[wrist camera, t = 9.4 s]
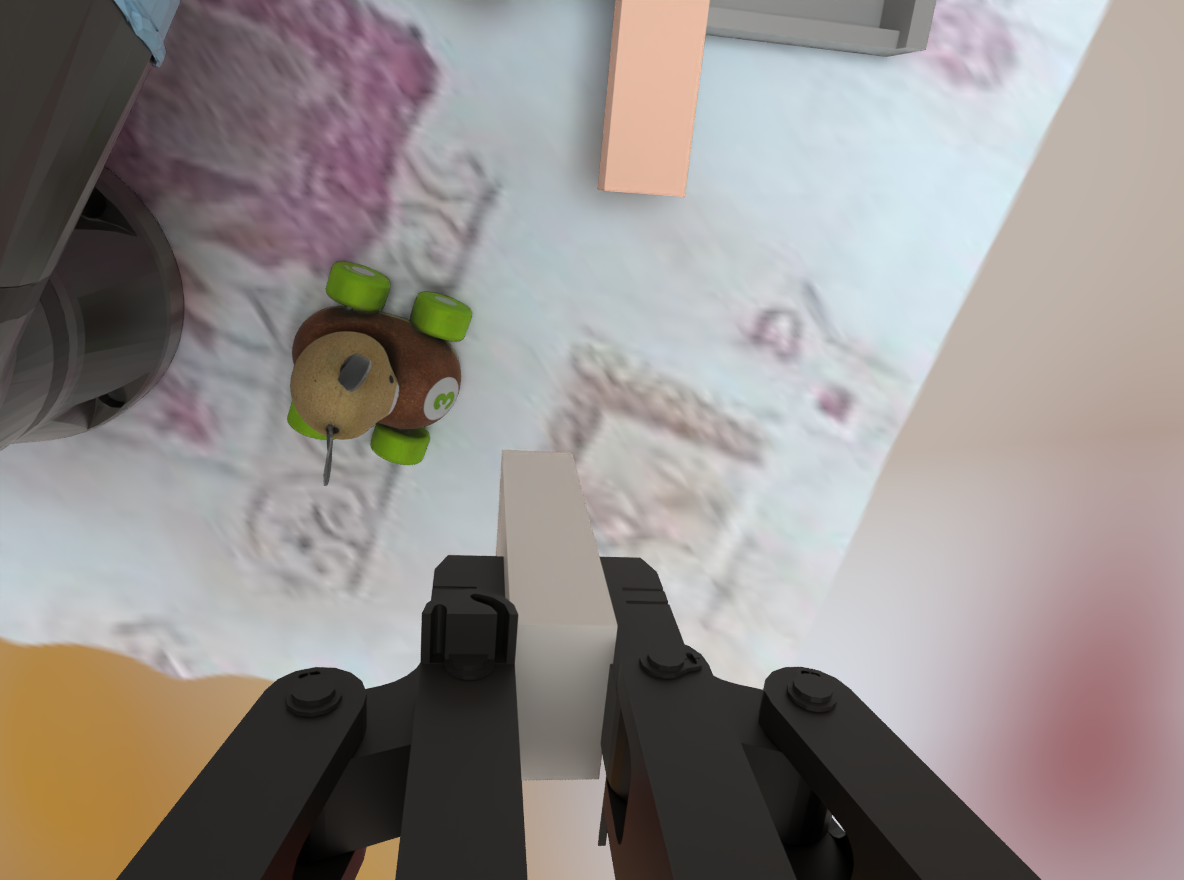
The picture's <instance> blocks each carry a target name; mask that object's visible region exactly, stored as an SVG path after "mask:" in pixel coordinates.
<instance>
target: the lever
mask: <svg viewBox="0 0 1184 880" xmlns="http://www.w3.org/2000/svg"><path fill="white" fill-rule="evenodd" d="M709 3H710V0H615V9H614V19H613V30H612V41H611V52H610V63H609V74H608V85H607V95H606V106H605V117H604V128H603V139H602V150H601V160H600V171H599V182H598V189H599V190H603V191H613V192H626V193H640V194H653V195H666V196H680V197H685V190H686V183H687V175H688V167H689V159H690V151H691V143H692V136H693V128H694V120H695V112H696V104H697V97H698V89H699V81H700V73H701V65H702V57H703V50H704V42H705V34H706V26H707V18H708V11H709Z"/></svg>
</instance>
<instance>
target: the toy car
mask: <svg viewBox="0 0 1184 880" xmlns="http://www.w3.org/2000/svg"><path fill="white" fill-rule="evenodd" d="M389 289H390V281H389V280H388V279H387V278H386V277H385V276H384V275H382V274H381V273H379V272H377V271H375V270H373V269H370V268H368V267H365V266H362V265H358V264H354V263H350V262H337V263H335V264H334V265H333V266H332V269H331V272H330V276H329V279H328V282H327V286H326V293H327V295H328V296H329V297H330V298H332V299H333V300H335V301H336V302H338V303H340V304H343V305H345V306H347V307H343V306H337V307H329V308H325V309H323V310H320V311H318V312H316V313H315V314H313V315H312V316H311V317H309V318H308V319H307V320H306V321H305V322H304V323H303V324H302V326H301V327H300V328H299V330H298V332H297V334H296V336H295V339H294V343H293V349H292V357H293V363H294V368H293V372H292V376H291V384H290V388H291V395H292V403H291V406H290V410H289V413H288V416H287V420H288V423H289V425H290V426H291V427H292V428H293V429H294V430H296V431H297V432H299V433H301V434H303V435H305V436H308V437H311V438H315V439H320V440H327V450H328V453H327V457H326V463H325V469H324V475H323V476H324V486H327V485H328V482H329V478H330V471H331V461H332V445H333V440H334V439H343V440H344V439H352V438H356V437H358V436H360V435H362V434H364V433H365V432H366V431H368V430H369V429H370V428H371V427H372V426H373V425H374V424H376V426H375V429H374V432H373V435H372V438H371V443H370V445H371V448H372V450H373V451H374V452H375V453H376V454H377V455H378V456H380V457H381V458H383V459H385V460H387V461H390V462H393V463H396V464H401V465H415V464H417V463H419V462H421V461H422V460H423V458H424V455H425V452H426V449H427V446H428V443H429V440H430V437H429V433H428V431H427V430H426V429H425V428H423V427H426V426H428V425H431V424H433V423H434V422H436V421H438V420H439V419H441V418H442V417H443V416H444V415H445V414H446V413H447V412H448V411H449V410H450V409H451V407H452V406H453V404H454V403H455V401H456V399H457V396H458V394H459V389H460V382H461V370H460V364H459V360H458V358H457V355H456V353H455V351H454V350H453V348H452V347H451V345H450V344H449V343H448V341H453V342H457V341H461V340H462V339H463V338H464V337H465V335H466V332H467V329H468V326H469V323H470V321H471V318H472V312H471V310H470V308H468V307H467V306H466V305H464V304H463V303H461V302H459V301H457V300H455V299H453V298H451V297H448V296H445V295H441V294H437V293H433V292H421V293H419V294H418V296H417V298H416V300H415V303H414V306H413V309H412V313H411V316H410V320H411V321H409V320H406V319H403V318H400V317H397V316H393V315H390V314H386V313H382V312H380V310H381V309H382V308H383V307H384V305H385V302H386V299H387V296H388V293H389Z"/></svg>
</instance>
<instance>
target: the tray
mask: <svg viewBox="0 0 1184 880" xmlns="http://www.w3.org/2000/svg"><path fill="white" fill-rule="evenodd" d="M935 4H936V0H710V3H709V11H708V18H707V26H706V34H705V35H713V36H721V37H730V38H738V39H746V40H754V41H763V42H771V43H779V44H787V45H796V46H804V47H812V48H821V49H829V50H837V51H845V52H854V53H862V54H870V55H878V56H887V57H888V56H893V55H899V54H905V53H911V52H916V51H922V50H926V46H927V42H928V37H929V32H930V28H931V23H932V18H933V14H934V9H935Z"/></svg>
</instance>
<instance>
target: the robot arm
mask: <svg viewBox="0 0 1184 880" xmlns="http://www.w3.org/2000/svg"><path fill="white" fill-rule="evenodd" d="M180 1H181V0H0V451H1V450H2V449H4V448H5V447H7V446H8V445H10V444H15V443H24V442H34V441H44V440H52V439H59V438H64V437H69V436H73V435H77V434H80V433H83V432H86V431H89V430H91V429H94V428H96V427H98V426H101V425H103V424H105V423H107V422H109V421H110V420H112V419H114V418H116V417H117V416H119V415H120V414H122V413H123V412H124V411H126V410H127V409H128V408H129V407H131V406H132V405H133V404H135V403H136V402H137V401H138V400H140V399H141V398H142V397H144V396H145V395H146V394H147V393H148V392H149V391H150V390H151V389H152V388H153V387H154V386H155V385H156V384H157V382H158V381H159V380H160V378H161V377H162V376H163V374H164V373H165V371H166V370H167V368H168V366H169V365H170V363H171V361H172V359H173V357H174V354H175V352H176V349H177V346H178V343H179V339H180V335H181V330H182V324H183V310H184V305H183V291H182V284H181V279H180V274H179V271H178V267H177V264H176V261H175V258H174V255H173V253H172V250H171V248H170V246H169V243H168V241H167V239H166V237H165V235H164V234H163V232H162V230H161V228H160V227H159V225H158V223H157V222H156V220H155V219H154V217H153V216H152V214H151V213H150V212H149V210H148V209H147V208H146V206H145V205H144V204H143V203H142V201H141V200H140V199H139V198H138V197H137V196H136V195H135V194H134V193H133V191H132V190H131V189H130V188H129V187H128V186H126V185H125V184H124V183H123V182H122V181H121V180H120V179H119V178H118V177H117V176H115V175H114V174H113V173H112V172H111V171H109V170H108V169H107V168H105V167H104V165H105V163H106V161H107V159H108V157H109V155H110V153H111V150H112V148H113V146H114V144H115V142H116V140H117V138H118V136H119V134H120V132H121V129H122V127H123V125H124V123H125V121H126V119H127V117H128V115H129V113H130V111H131V108H132V106H133V104H134V102H135V100H136V98H137V96H138V94H139V92H140V90H141V87H142V85H143V83H144V81H145V79H146V77H147V75H148V73H149V71H150V69H151V66H152V65H153V66H155V67H157V68H159V67H160V66H161V65H162V63H163V61H164V58H165V55H166V50H165V45H164V43H163V42H164V39H165V37H166V34H167V32H168V30H169V27H170V25H171V22H172V20H173V18H174V15H175V13H176V10H177V8H178V6H179V3H180ZM602 755H603V760H604V765H605V770H606V782H605V791H604V798H603V807H602V814H601V822H600V830H599V840H598V846H605V845H606V838H607V833H608V837H609V844H610V850H611V856H612V862H613V867H614V874H615V879H616V880H1041V879H1040V878H1039V877H1038V876H1037V875H1036V874H1035V873H1034V872H1033V871H1032V870H1031V869H1030V868H1029V867H1028V866H1027V865H1026V864H1025V863H1024V862H1023V861H1022V860H1021V859H1020V858H1019V857H1018V856H1017V855H1016V854H1015V853H1014V852H1013V851H1012V850H1011V849H1010V848H1009V847H1008V846H1007V845H1006V844H1005V843H1004V842H1003V841H1002V840H1001V839H1000V838H999V837H998V836H997V835H996V834H995V833H994V832H993V831H992V830H991V829H990V828H989V827H988V826H987V825H986V824H985V823H984V822H983V821H982V820H981V819H980V818H979V817H978V816H977V815H976V814H975V813H974V812H973V811H972V810H971V809H970V808H969V807H968V806H967V805H966V804H965V803H964V802H963V801H962V800H961V799H960V798H959V797H958V796H957V795H956V794H955V793H954V792H953V791H952V790H951V789H950V788H949V787H948V786H947V785H946V784H945V783H944V782H943V781H942V780H941V779H940V778H939V777H938V776H937V775H936V774H935V773H934V772H933V771H932V770H931V769H930V768H929V767H928V766H927V765H926V764H925V763H924V762H923V761H922V760H921V759H920V758H919V757H918V756H917V755H916V754H915V753H914V752H913V751H912V750H911V749H910V748H909V747H908V746H907V745H906V744H905V743H904V742H903V741H902V740H901V739H900V738H899V737H898V736H897V735H896V734H895V733H894V732H893V731H892V730H891V729H890V728H889V727H887V725H886V724H885V723H884V722H883V721H881V719H880V718H879V717H877V715H875V713H873V711H871V709H869V707H868V706H867V705H866V704H865V703H864V702H863V701H861V699H860V698H859V697H858V696H857V695H856V694H855V693H854V692H853V691H852V690H851V689H849V688H848V687H847V686H845V685H844V684H843V683H842V682H840V681H839V680H838V679H836V678H835V677H832V676H830V675H828V674H825V673H823V672H821V671H818V670H815V669H809V668H804V667H785V668H782V669H779V670H776V671H773V672H772V673H771V674H770V675H769V676H768V677H767V678H766V680H765V684H764V689H763V690H761V689H757V688H752V687H748V686H743V685H738V684H734V683H731V682H728V681H724V680H721V679H719V678H717V677H715V676H713V674H712V671H711V669H710V667H709V664H708V663H707V662H706V660H705V659H704V657H703V656H702V655H701V654H700V653H698V652H697V651H695V650H694V649H693V648H691V647H690V646H687V645H685V644H684V642H683V639H682V637H681V634H680V631H679V629H678V626H677V624H676V621H675V618H674V616H673V613H672V611H671V608H670V605H668V600H667V597H666V595H665V592H664V591H663V587H662V584H661V582H660V579H659V577H658V574H657V572H656V571H655V570H654V569H653V568H652V567H650V566H649V565H648V564H647V563H646V562H645V561H644V560H642V559H641V558H629V557H599V553H598V550H597V546H596V542H595V538H594V534H593V531H592V527H591V523H590V519H589V515H588V512H587V508H586V504H585V500H584V496H583V493H582V489H581V485H580V481H579V477H578V474H577V470H576V466H575V462H574V458H573V455H572V453H559V452H536V451H513V450H502V462H501V479H500V495H499V512H498V529H497V546H496V556H464V555H448V556H447V557H446V558H445V559H444V560H443V561H442V562H441V563H440V564H439V565H438V566H437V567H436V568H435V571H434V580H433V589H432V597H431V601H430V602H428V603H427V604H426V606H425V608H424V610H423V612H422V629H421V663H420V664H419V665H418V667H417V668H416V669H415V670H414V671H412V672H411V673H410V674H408V675H407V676H405V677H403V678H401V679H399V680H397V681H395V682H392V683H389V684H385V685H382V686H378V687H373V688H368V689H365V688H364V685H363V682H362V681H361V680H360V679H358V678H357V677H356V676H355V675H353V674H352V673H350V672H347V671H344V670H340V669H337V668H324V667H314V668H309V669H304V670H299V671H295V672H293V673H291V674H288V675H286V676H284V677H282V678H280V679H278V680H277V681H275V682H274V683H273V684H272V685H271V686H270V687H268V688H267V689H266V690H265V691H264V693H263V694H262V695H261V697H260V698H259V699H258V700H257V701H256V703H255V704H254V705H253V707H252V708H251V709H250V711H249V712H248V713H247V714H246V715H245V717H244V718H243V719H242V720H241V722H240V723H239V724H238V726H237V727H236V728H235V729H234V731H233V732H232V733H231V734H230V736H229V737H228V738H227V740H226V741H225V742H224V743H223V745H222V746H221V747H220V749H219V750H218V751H217V752H216V753H215V755H214V756H213V757H212V759H211V760H210V761H209V762H208V764H207V765H206V766H205V767H204V769H203V770H202V771H201V773H200V774H199V775H198V776H197V778H196V779H195V780H194V781H193V783H192V784H191V785H190V787H189V788H188V789H187V790H186V792H185V793H184V794H183V795H182V797H181V798H180V799H179V801H178V802H177V803H176V804H175V806H174V807H173V808H172V809H171V811H170V812H169V813H168V815H167V816H166V817H165V818H164V820H163V821H162V822H161V823H160V825H159V826H158V827H157V829H156V830H155V831H154V832H153V834H152V835H151V836H150V837H149V839H148V840H147V841H146V842H145V844H144V845H143V846H142V847H141V849H140V850H139V851H138V853H137V854H136V855H135V856H134V858H133V859H132V860H131V861H130V863H129V864H128V865H127V866H126V868H125V869H124V870H123V872H122V873H121V874H120V875H119V877H118V878H117V879H116V880H355V878H356V876H357V873H358V871H359V869H360V867H361V865H362V862H363V860H364V856H365V852H366V847H367V846H371V845H374V844H377V843H380V842H384V841H387V840H390V839H394V838H397V837H400V844H399V853H398V861H397V870H396V879H395V880H527V864H526V849H525V848H526V847H525V831H524V830H525V829H524V813H523V796H522V780H574V779H575V780H576V779H599V774H600V766H601V758H602ZM832 815H833V816H834V817H835V819H836V820H837V821H838V822H839V824H840V825H841V826H842V828H843V829H844V831H845V832H844V831H843V830H842V829H841V828H840V827H839V826H838V824H837V823H836V822H835V821H834V820H833V818H832Z"/></svg>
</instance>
